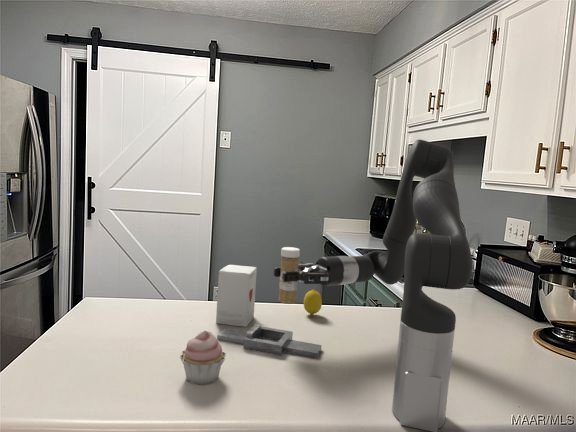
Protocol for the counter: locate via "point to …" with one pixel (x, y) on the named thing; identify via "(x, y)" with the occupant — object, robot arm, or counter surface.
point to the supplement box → (236, 295)
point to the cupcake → (203, 358)
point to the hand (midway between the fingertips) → (279, 274)
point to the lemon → (312, 302)
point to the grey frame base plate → (276, 348)
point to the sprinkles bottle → (288, 265)
